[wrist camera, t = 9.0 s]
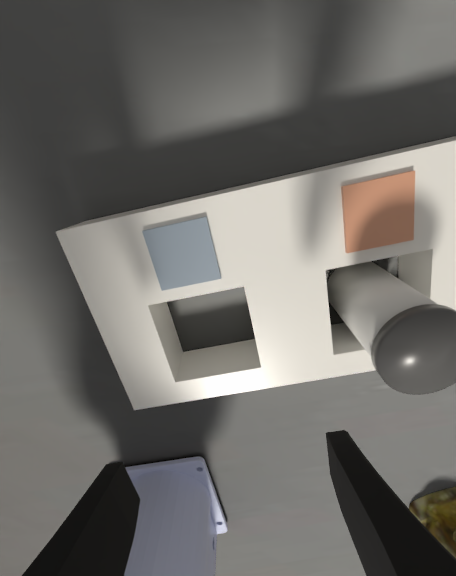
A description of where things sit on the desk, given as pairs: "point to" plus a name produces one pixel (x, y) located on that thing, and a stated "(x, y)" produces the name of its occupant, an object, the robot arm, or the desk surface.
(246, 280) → the white flat block
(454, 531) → the mottled yellow lump
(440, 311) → the plug
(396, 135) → the desk surface
